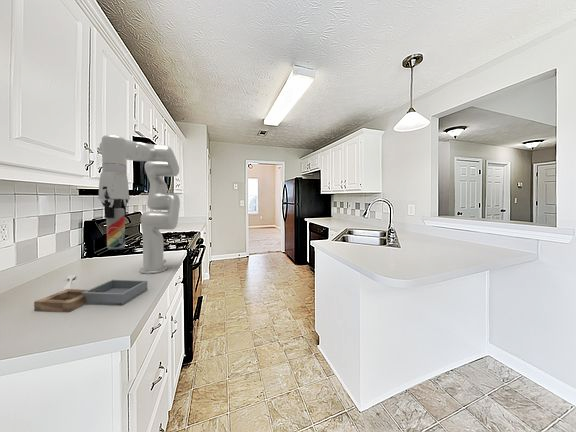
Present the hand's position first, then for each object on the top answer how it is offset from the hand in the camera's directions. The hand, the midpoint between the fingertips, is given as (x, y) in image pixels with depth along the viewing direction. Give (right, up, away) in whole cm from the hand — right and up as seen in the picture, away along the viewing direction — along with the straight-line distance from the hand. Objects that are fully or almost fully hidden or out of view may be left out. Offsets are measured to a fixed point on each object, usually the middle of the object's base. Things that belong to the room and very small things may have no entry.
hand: (115, 216), depth 94 cm
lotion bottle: (0, -12, +1) cm, 12 cm away
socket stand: (-13, -31, -6) cm, 34 cm away
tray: (-1, -31, +2) cm, 31 cm away
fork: (-32, -30, +16) cm, 46 cm away
